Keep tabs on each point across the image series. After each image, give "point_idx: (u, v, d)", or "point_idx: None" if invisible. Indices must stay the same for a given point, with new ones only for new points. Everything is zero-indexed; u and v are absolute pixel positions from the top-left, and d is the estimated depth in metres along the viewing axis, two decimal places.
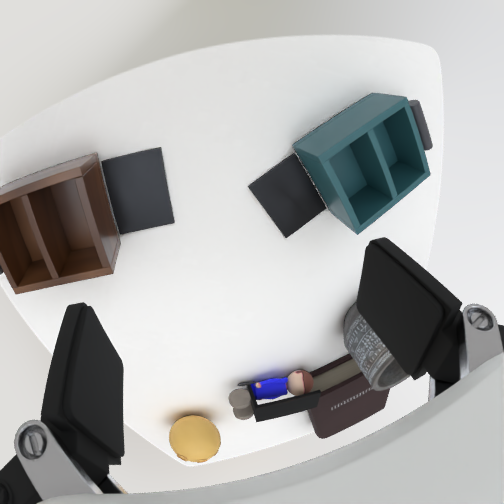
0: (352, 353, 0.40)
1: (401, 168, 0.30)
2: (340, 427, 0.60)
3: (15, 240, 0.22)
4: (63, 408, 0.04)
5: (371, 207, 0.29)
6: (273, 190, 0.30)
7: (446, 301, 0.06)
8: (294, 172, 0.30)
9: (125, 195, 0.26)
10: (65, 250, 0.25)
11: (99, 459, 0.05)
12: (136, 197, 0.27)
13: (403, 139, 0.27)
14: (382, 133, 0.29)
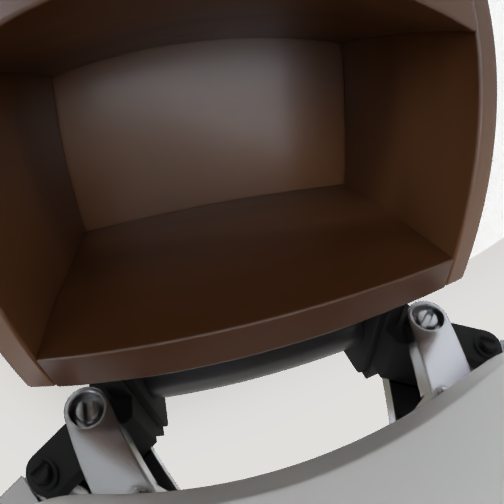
0: None
1: None
2: None
3: (257, 220, 0.07)
4: None
5: None
6: None
7: None
8: None
9: None
10: None
11: (149, 426, 0.06)
12: None
13: None
14: None
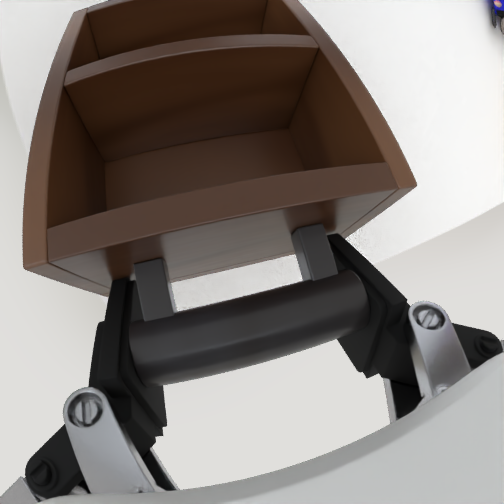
0: None
1: None
2: None
3: None
4: (120, 371, 0.05)
5: None
6: None
7: (388, 297, 0.07)
8: None
9: None
10: None
11: (148, 427, 0.06)
12: None
13: None
14: None
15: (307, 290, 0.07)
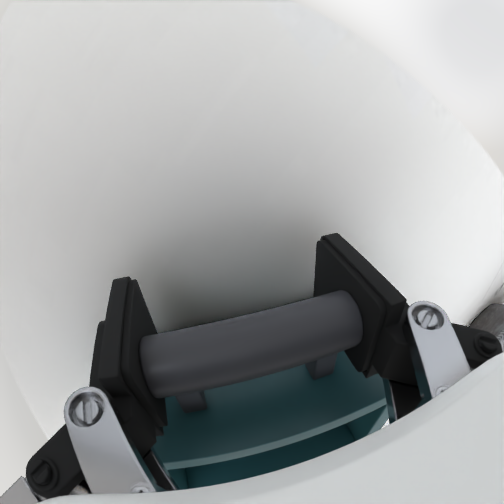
0: None
1: None
2: None
3: None
4: (121, 370, 0.05)
5: None
6: None
7: (387, 297, 0.07)
8: None
9: None
10: None
11: (149, 426, 0.06)
12: None
13: None
14: None
15: None
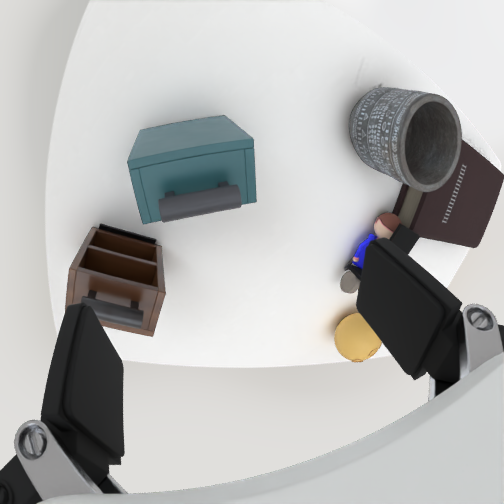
0: None
1: None
2: (480, 225, 0.48)
3: None
4: (63, 408, 0.04)
5: None
6: None
7: (446, 301, 0.06)
8: None
9: None
10: None
11: (99, 459, 0.05)
12: None
13: None
14: None
15: (128, 307, 0.25)
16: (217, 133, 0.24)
